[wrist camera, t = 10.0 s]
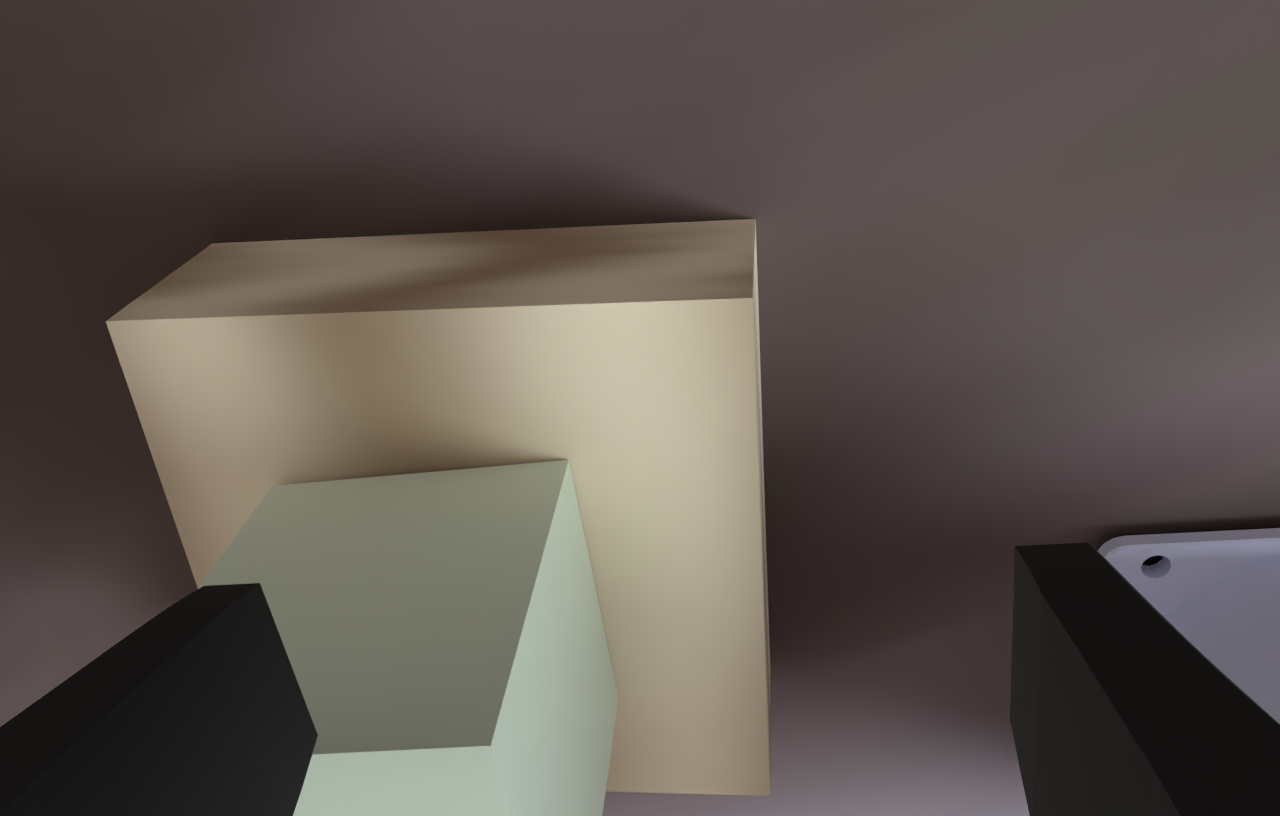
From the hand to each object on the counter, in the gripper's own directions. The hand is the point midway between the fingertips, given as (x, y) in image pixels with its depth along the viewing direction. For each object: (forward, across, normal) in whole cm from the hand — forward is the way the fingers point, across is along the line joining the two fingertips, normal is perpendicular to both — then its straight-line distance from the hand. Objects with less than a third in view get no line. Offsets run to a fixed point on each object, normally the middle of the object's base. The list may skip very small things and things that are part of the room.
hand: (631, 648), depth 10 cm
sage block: (+6, +4, +4) cm, 9 cm away
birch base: (+10, +4, +4) cm, 12 cm away
